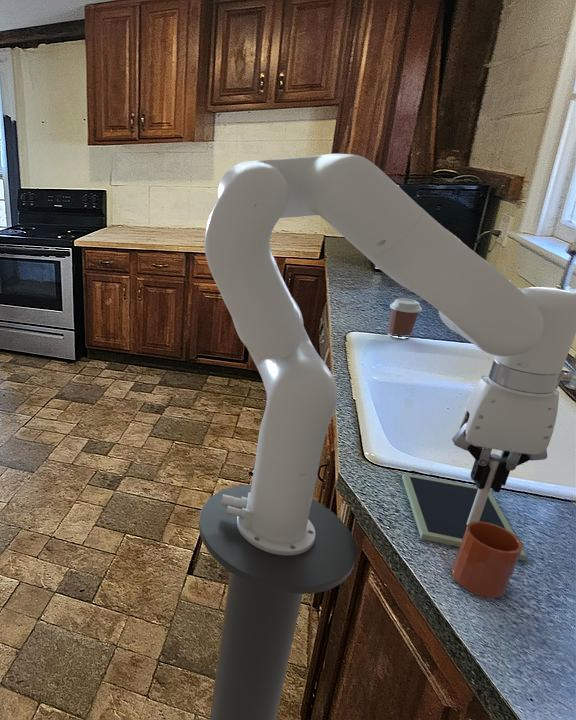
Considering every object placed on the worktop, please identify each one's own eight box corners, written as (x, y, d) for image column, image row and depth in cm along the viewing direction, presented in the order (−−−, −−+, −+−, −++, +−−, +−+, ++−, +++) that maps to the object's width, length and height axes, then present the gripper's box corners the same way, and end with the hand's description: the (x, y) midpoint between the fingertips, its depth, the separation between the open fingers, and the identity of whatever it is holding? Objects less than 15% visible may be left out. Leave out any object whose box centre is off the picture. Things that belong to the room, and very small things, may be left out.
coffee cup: (392, 340, 170) (401, 305, 166) (378, 331, 179) (385, 297, 174) (420, 341, 171) (429, 305, 166) (404, 331, 179) (413, 297, 174)
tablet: (420, 539, 84) (422, 533, 84) (401, 477, 100) (402, 472, 100) (524, 561, 80) (527, 555, 80) (487, 493, 96) (489, 488, 95)
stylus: (467, 527, 84) (491, 457, 79) (465, 522, 85) (488, 452, 80) (478, 529, 83) (502, 459, 78) (475, 524, 84) (499, 454, 79)
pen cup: (458, 591, 75) (474, 546, 72) (446, 559, 80) (461, 517, 77) (511, 603, 73) (530, 558, 70) (496, 570, 78) (512, 527, 75)
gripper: (578, 374, 75) (536, 482, 82) (452, 359, 80) (422, 463, 87) (605, 395, 68) (557, 511, 75) (466, 378, 73) (433, 489, 80)
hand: (485, 484), depth 81 cm, fingers closed on stylus, 1 cm apart
